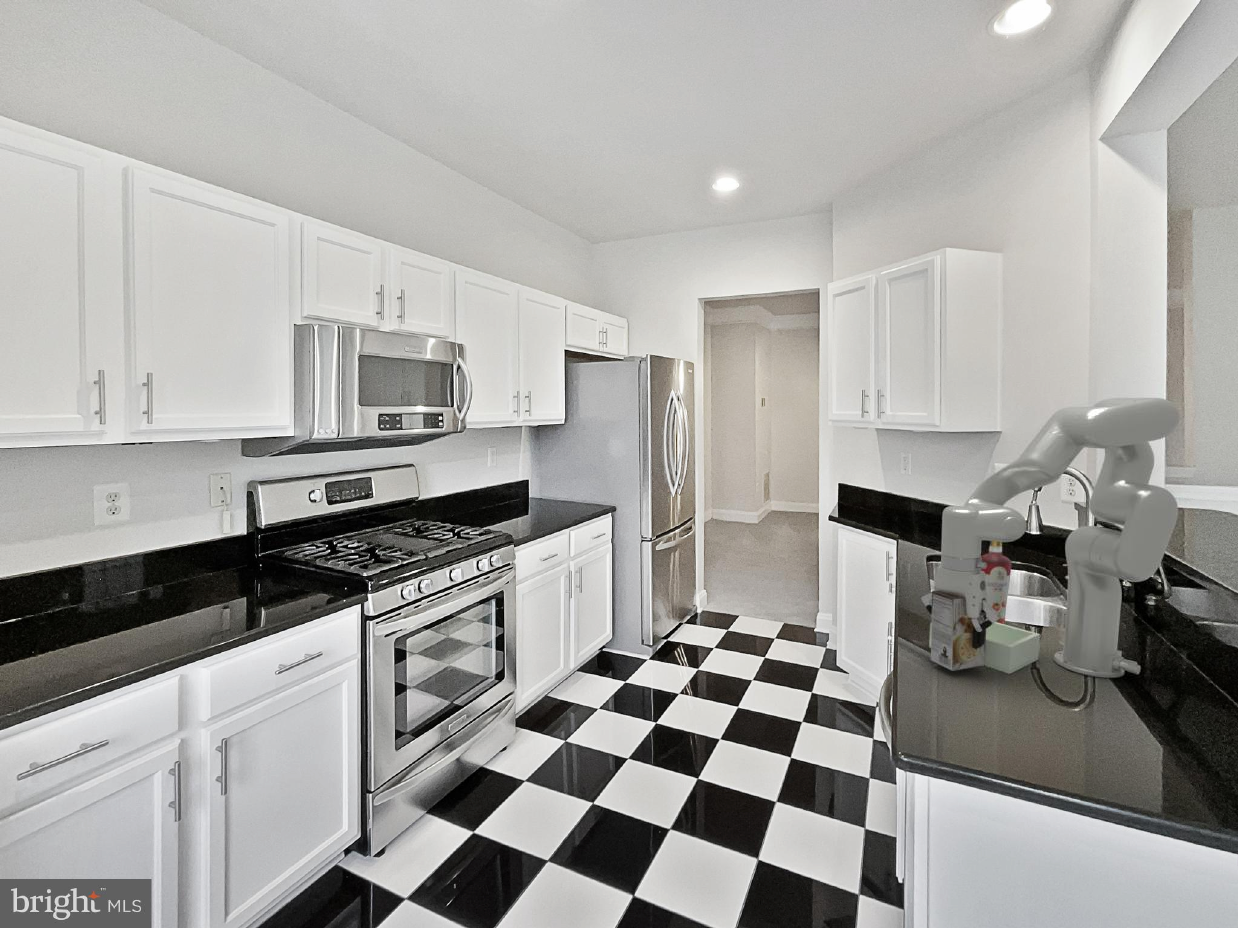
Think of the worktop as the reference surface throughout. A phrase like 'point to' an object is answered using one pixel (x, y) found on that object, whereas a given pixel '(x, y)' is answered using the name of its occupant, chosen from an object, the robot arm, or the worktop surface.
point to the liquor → (997, 578)
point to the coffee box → (953, 633)
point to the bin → (1008, 647)
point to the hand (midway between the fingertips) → (958, 640)
